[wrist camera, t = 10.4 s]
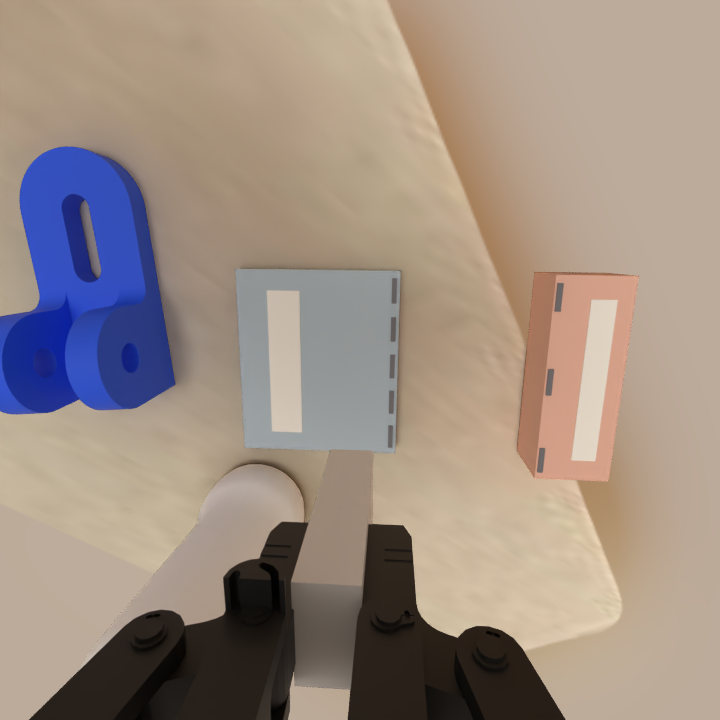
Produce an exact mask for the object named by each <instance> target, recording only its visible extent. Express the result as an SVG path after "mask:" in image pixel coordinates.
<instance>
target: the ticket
mask: <svg viewBox="0 0 720 720" xmlns="http://www.w3.org/2000/svg"><path fill="white" fill-rule="evenodd" d="M400 272H401V271H400V270H334V269H253V268H240V269H235V274H236V293H237V312H238V331H239V350H240V369H241V388H242V407H243V426H244V445H245V448H270V449H296V450H322V451H330V450H331V449H338V450H368V451H373V452H374V453H395V440H396V406H397V372H398V339H399V305H400Z"/></svg>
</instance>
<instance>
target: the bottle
mask: <svg viewBox="0 0 720 720" xmlns="http://www.w3.org/2000/svg"><path fill="white" fill-rule="evenodd" d="M281 522H304V501H303V498H302V495H301V493H300V490H299V489H298V487H297V486H296V484H295V483H294V481H293V480H292V479H291V478H289V477H288V476H287V475H286V474H285V473H284V472H282V471H280V470H278V469H276V468H274V467H271V466H267V465H263V464H249V465H245V466H241V467H238V468H236V469H234V470H232V471H231V472H229V473H227V474H226V475H225V476H223V477H222V478H221V479H220V480H219V481H218V482H217V483H216V484H215V485H214V487H213V488H212V489H211V491H210V492H209V493H208V494H207V496H206V498H205V500H204V502H203V504H202V506H201V508H200V512H199V517H198V522H197V524H196V525H195V527H194V528H193V529H192V531H191V532H190V533H189V534H188V535H187V536H186V538H185V539H184V540H183V541H182V542H181V544H180V545H179V546H178V547H177V548H176V549H175V551H174V552H173V553H172V554H171V555H170V556H169V558H168V559H167V560H166V561H165V562H164V563H163V565H162V566H161V567H160V568H159V569H158V570H157V572H156V573H155V574H154V575H153V576H152V578H151V579H150V580H149V581H148V582H147V583H146V585H145V586H144V587H143V588H142V589H141V591H140V592H139V593H138V594H137V595H136V596H135V597H134V599H133V600H132V601H131V602H130V603H129V605H128V606H127V607H126V608H125V609H124V610H123V612H122V613H121V614H120V615H119V616H118V617H117V619H116V620H115V621H114V622H113V623H112V624H111V626H110V627H109V628H108V629H107V630H106V632H105V633H104V634H103V635H102V636H101V637H100V639H99V640H98V641H97V643H96V644H95V645H94V646H93V648H92V649H91V651H90V652H89V653H88V655H87V657H86V659H85V661H84V662H83V664H82V666H81V668H82V667H83V666H84V665H85V664H86V663H87V662H88V661H89V660H90V659H91V658H92V657H93V656H94V655H95V654H96V653H97V652H98V651H99V650H100V649H101V648H102V647H104V646H105V645H106V644H107V643H108V642H109V641H110V640H111V639H112V638H113V637H114V636H115V635H116V634H117V633H118V632H119V631H120V630H121V629H122V628H123V627H124V626H125V625H126V624H128V623H129V622H130V621H132V620H133V619H134V618H136V617H138V616H141V615H143V614H145V613H147V612H151V611H156V610H171V611H174V612H176V613H177V614H179V615H181V617H182V619H183V621H184V624H185V626H186V625H191V624H196V623H201V622H205V621H209V620H212V619H216V618H218V617H220V616H222V615H224V613H225V597H224V584H223V577H224V576H225V574H226V573H227V572H228V571H229V569H231V568H232V567H234V566H236V565H237V564H239V563H241V562H244V561H247V560H250V559H259V557H260V554H261V552H262V550H263V547H265V543H266V540H267V538H268V536H269V533H270V532H271V531H272V530H273V529H274V528H275V527H276V526H277V525H278V524H279V523H281ZM81 668H80V669H81Z"/></svg>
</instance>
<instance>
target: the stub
mask: <svg viewBox="0 0 720 720" xmlns="http://www.w3.org/2000/svg"><path fill="white" fill-rule="evenodd" d="M638 278H639V276H634V275H623V274H622V275H621V274H612V273H566V272H561V273H560V272H534V282H533V292H532V303H531V313H530V323H529V334H528V344H527V354H526V365H525V375H524V385H523V396H522V406H521V416H520V427H519V437H518V448H517V452H518V453H519V455H520V456H521V458H522V459H523V461H524V463H525V464H526V466H527V467H528V469H529V470H530V472H531V474H532V475H533V477H534V478H540V479H564V480H588V481H608V479H609V472H610V467H611V460H612V453H613V446H614V440H615V432H616V426H617V419H618V413H619V406H620V399H621V392H622V386H623V379H624V372H625V366H626V359H627V352H628V346H629V338H630V332H631V325H632V319H633V312H634V305H635V298H636V291H637V285H638Z"/></svg>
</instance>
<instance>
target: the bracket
mask: <svg viewBox="0 0 720 720" xmlns="http://www.w3.org/2000/svg"><path fill="white" fill-rule="evenodd" d="M84 199H85V200H86V202H87V203H88V205H89V209H90V214H91V219H92V225H93V230H94V235H95V240H96V245H97V250H98V255H99V260H100V265H101V275H100V277H99V278H96V277H95V276H94V274H93V273H92V270H91V266H90V261H89V256H88V251H87V246H86V241H85V236H84V231H83V226H82V221H81V216H80V210H79V209H80V204H81V202H82V201H83V200H84ZM20 209H21V214H22V219H23V223H24V228H25V232H26V236H27V241H28V245H29V249H30V254H31V258H32V262H33V267H34V271H35V275H36V280H37V284H38V288H39V293H40V300H39V304H38V306H37V307H36V308H35V309H34V310H33V311H30V312H24V313H18V314H12V315H6V316H1V317H0V411H1V412H4V413H8V414H34V413H49V412H53V411H55V410H58V409H60V408H62V407H64V406H66V405H68V404H71V403H73V402H75V401H77V400H79V399H80V400H81V401H82V402H83V403H84V404H85V405H87V406H88V407H90V408H93V409H96V410H116V409H133V408H137V407H139V406H141V405H142V404H144V403H146V402H147V401H149V400H151V399H152V398H154V397H156V396H157V395H159V394H161V393H162V392H164V391H165V390H167V389H169V388H170V387H172V386H174V385H175V380H174V374H173V368H172V362H171V356H170V350H169V344H168V338H167V333H166V327H165V321H164V315H163V309H162V303H161V297H160V291H159V286H158V280H157V274H156V268H155V262H154V256H153V250H152V245H151V239H150V233H149V227H148V221H147V215H146V209H145V204H144V200H143V197H142V194H141V192H140V190H139V188H138V186H137V184H136V182H135V181H134V179H133V178H132V177H131V175H130V174H129V173H128V172H127V171H126V170H125V169H124V168H123V167H122V166H121V165H119V164H118V163H116V162H115V161H113V160H112V159H110V158H108V157H105V156H103V155H100V154H97V153H94V152H91V151H88V150H85V149H81V148H77V147H59V148H54V149H52V150H49V151H47V152H45V153H43V154H42V155H40V156H39V157H38V158H37V159H35V160H34V161H33V163H32V164H31V165H30V166H29V168H28V169H27V171H26V173H25V175H24V178H23V181H22V184H21V189H20Z"/></svg>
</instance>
